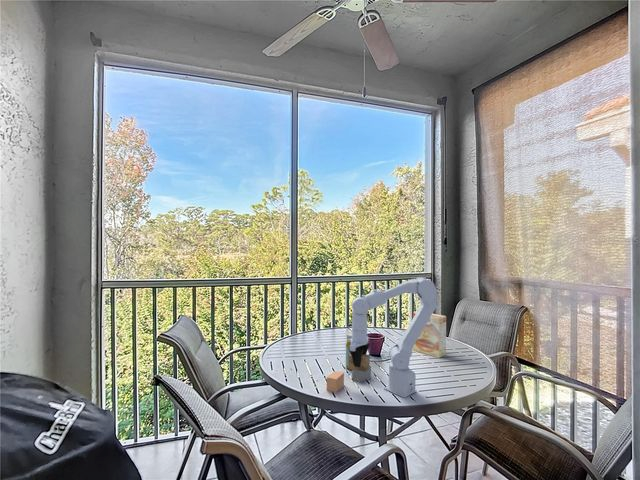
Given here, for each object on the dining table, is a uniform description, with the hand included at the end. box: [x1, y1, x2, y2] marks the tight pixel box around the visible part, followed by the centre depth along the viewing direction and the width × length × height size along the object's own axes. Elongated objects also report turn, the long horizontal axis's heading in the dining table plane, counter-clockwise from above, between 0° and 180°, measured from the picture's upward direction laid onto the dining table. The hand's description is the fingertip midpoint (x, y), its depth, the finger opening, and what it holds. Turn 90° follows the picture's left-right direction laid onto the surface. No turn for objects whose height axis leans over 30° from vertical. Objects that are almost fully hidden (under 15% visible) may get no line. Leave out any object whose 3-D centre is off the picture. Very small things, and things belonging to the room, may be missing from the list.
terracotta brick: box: [326, 370, 345, 393], centre depth 130 cm, size 7×4×5 cm, turn 152°
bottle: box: [345, 331, 352, 371], centre depth 150 cm, size 7×7×15 cm
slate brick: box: [351, 365, 372, 383], centre depth 139 cm, size 7×4×5 cm, turn 131°
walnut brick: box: [348, 354, 371, 372], centre depth 130 cm, size 7×4×5 cm, turn 62°
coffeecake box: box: [412, 311, 447, 358], centre depth 171 cm, size 15×7×20 cm, turn 42°
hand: (359, 364), depth 130 cm, fingers closed on walnut brick, 4 cm apart
